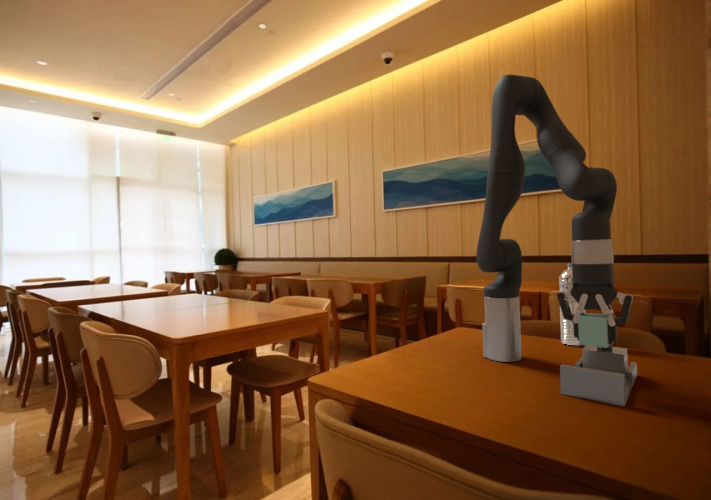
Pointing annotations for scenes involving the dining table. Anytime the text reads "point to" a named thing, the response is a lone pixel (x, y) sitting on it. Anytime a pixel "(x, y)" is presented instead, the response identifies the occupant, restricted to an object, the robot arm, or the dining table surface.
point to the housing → (593, 330)
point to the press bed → (597, 383)
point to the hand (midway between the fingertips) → (595, 341)
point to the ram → (605, 359)
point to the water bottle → (567, 325)
